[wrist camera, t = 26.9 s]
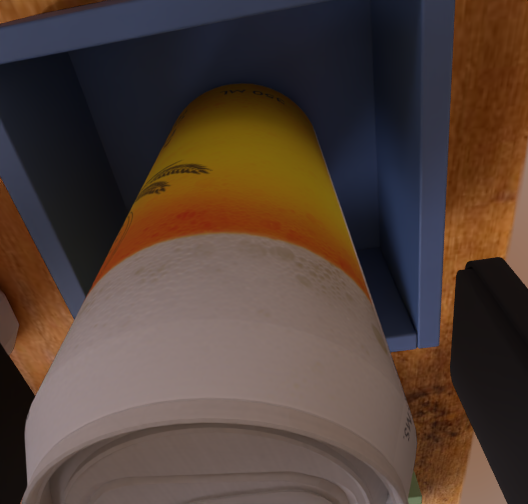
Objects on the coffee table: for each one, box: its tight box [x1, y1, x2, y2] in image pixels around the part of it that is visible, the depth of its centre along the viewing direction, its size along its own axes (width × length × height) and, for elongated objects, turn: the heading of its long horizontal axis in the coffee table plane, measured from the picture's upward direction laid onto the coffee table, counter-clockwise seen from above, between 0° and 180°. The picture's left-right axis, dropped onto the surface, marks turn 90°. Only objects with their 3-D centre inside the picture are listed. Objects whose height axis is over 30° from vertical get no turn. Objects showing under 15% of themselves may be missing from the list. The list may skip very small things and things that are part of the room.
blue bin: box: [0, 0, 455, 352], centre depth 17 cm, size 13×13×7 cm
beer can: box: [22, 83, 417, 504], centre depth 13 cm, size 6×6×15 cm
